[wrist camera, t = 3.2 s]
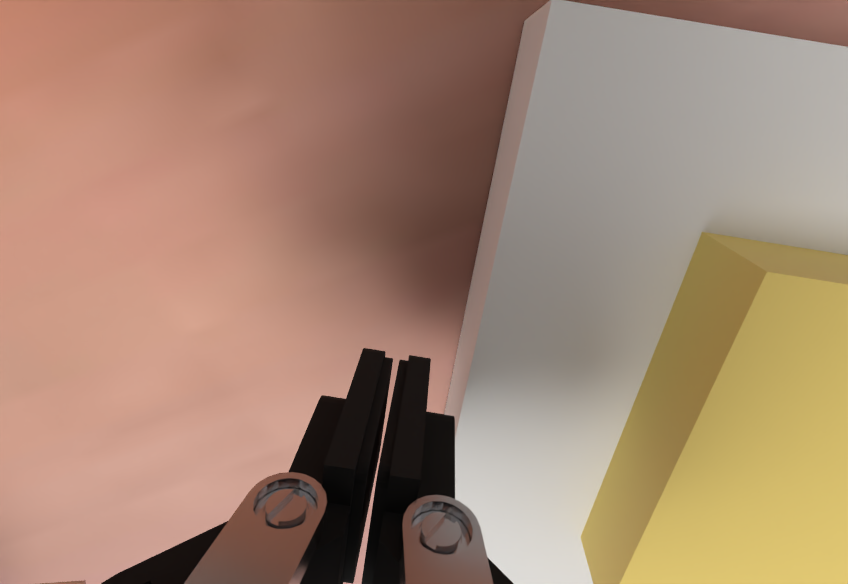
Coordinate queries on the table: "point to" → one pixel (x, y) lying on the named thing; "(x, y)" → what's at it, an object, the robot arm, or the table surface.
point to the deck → (619, 242)
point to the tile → (736, 429)
